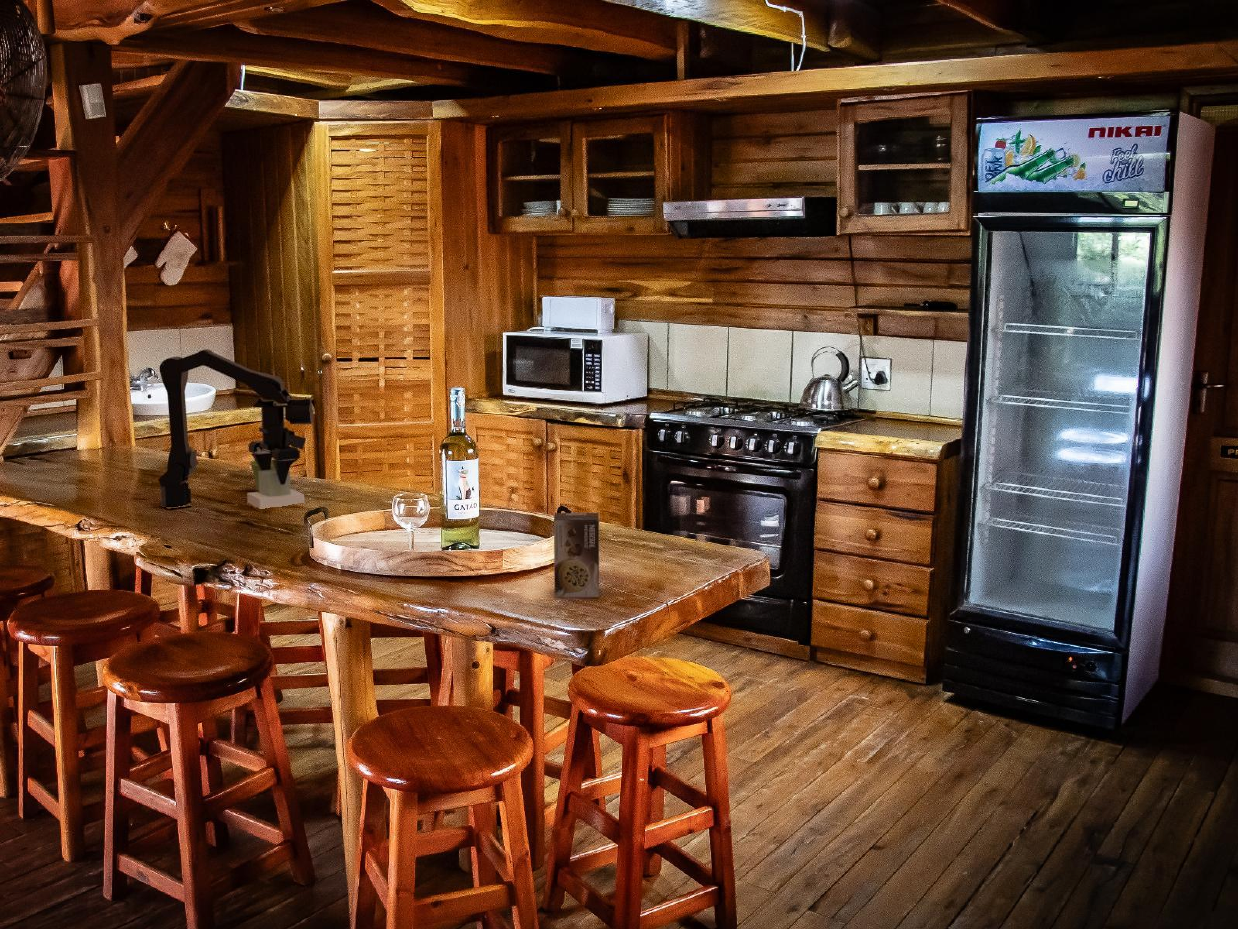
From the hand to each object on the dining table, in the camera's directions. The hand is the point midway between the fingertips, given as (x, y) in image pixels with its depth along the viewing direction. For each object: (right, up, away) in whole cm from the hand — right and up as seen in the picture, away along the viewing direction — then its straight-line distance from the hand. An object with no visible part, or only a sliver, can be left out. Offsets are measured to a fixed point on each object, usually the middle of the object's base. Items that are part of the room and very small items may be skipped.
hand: (275, 481), depth 318 cm
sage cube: (0, -3, +1) cm, 3 cm away
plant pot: (-8, -3, +20) cm, 22 cm away
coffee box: (+83, -22, -78) cm, 116 cm away
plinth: (0, -7, +1) cm, 7 cm away
